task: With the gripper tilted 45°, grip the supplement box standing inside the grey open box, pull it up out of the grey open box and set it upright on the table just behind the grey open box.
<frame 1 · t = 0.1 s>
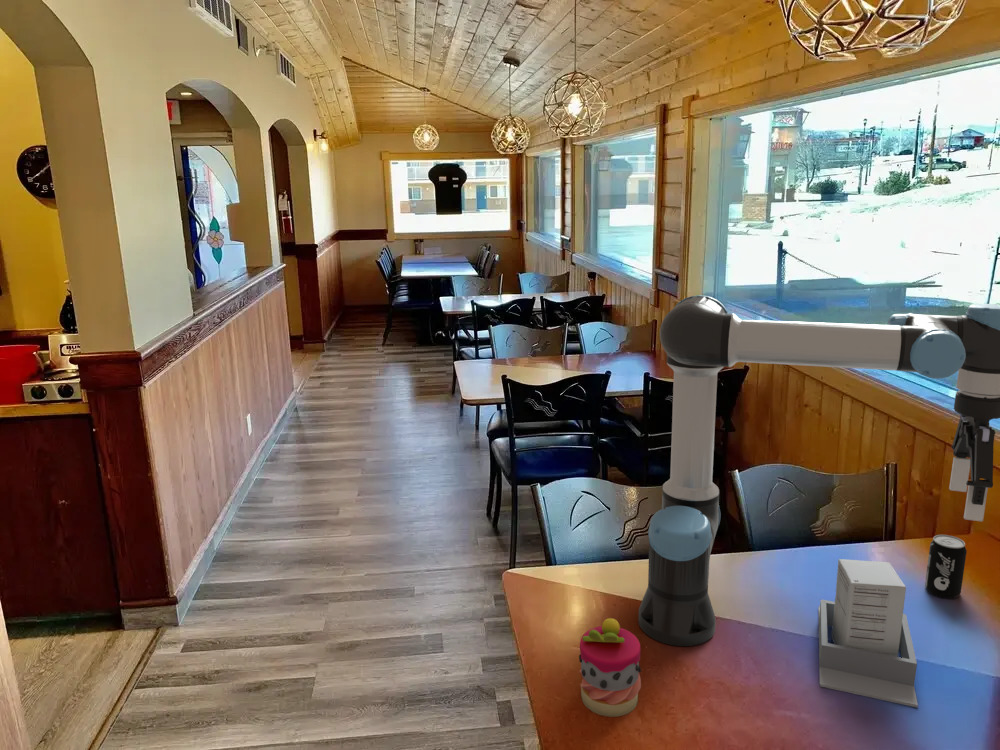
hand: (965, 504, 130), 28 cm above the table, tool pointing down, fingers open, 13 cm apart
grey open box: (862, 652, 133), on the table
cake: (609, 697, 124), on the table
beverage can: (942, 592, 152), on the table
supplement box: (862, 653, 133), resting in grey open box
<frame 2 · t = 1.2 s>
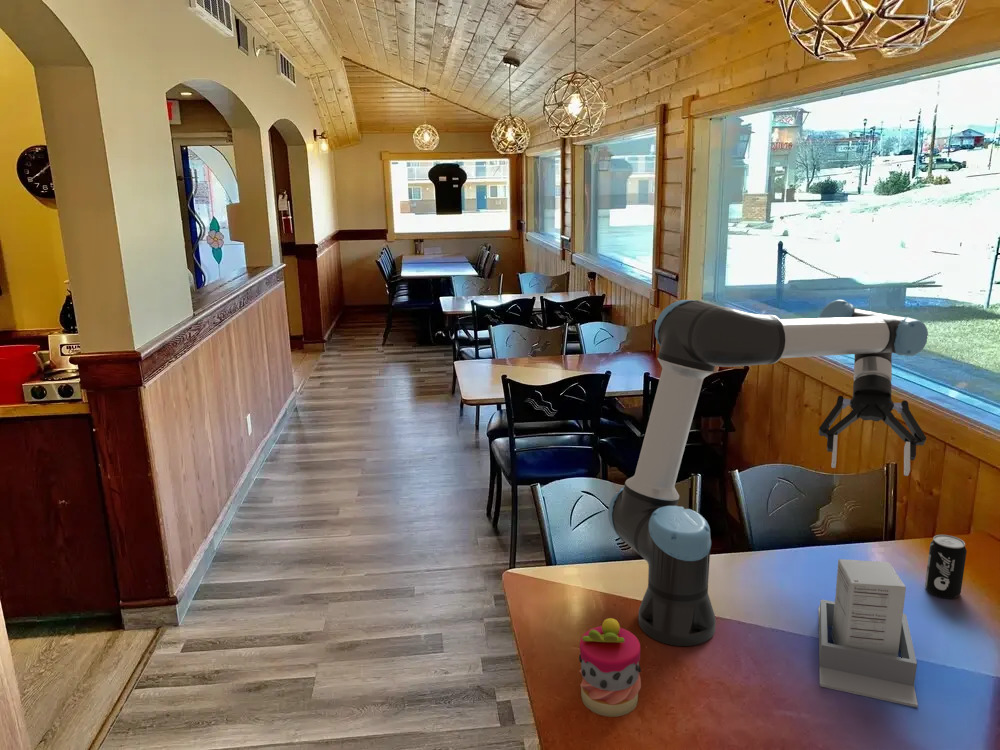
hand: (869, 469, 148), 28 cm above the table, tool tilted 45°, fingers open, 13 cm apart
nothing on the table moved.
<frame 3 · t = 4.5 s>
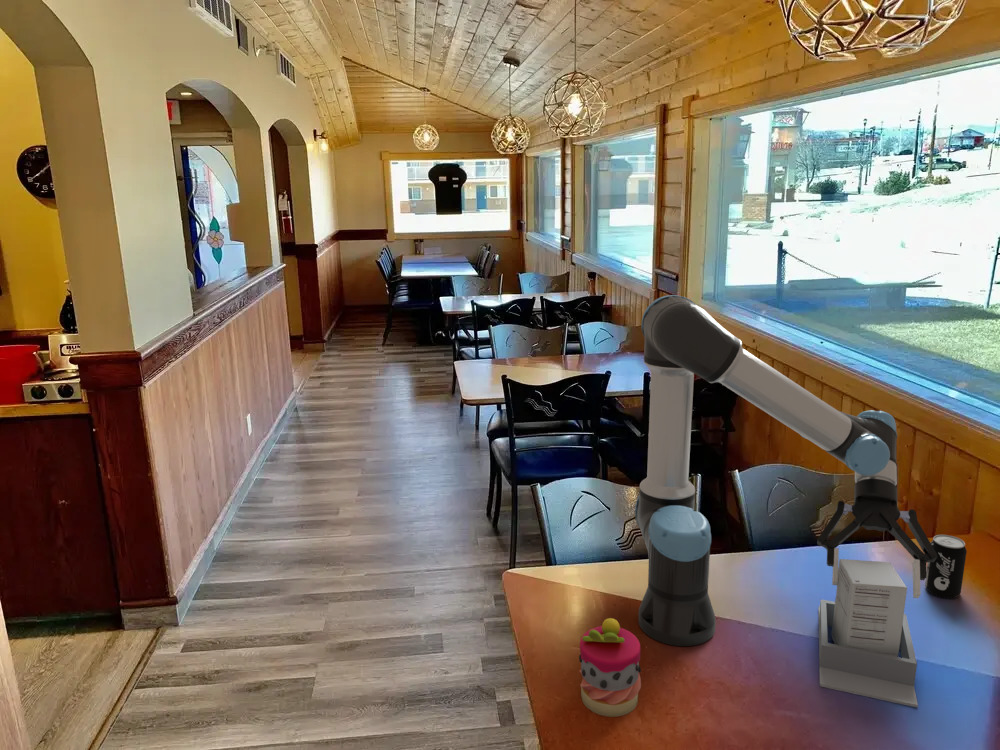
hand: (875, 589, 133), 12 cm above the table, tool tilted 45°, fingers open, 13 cm apart
supplement box: (862, 653, 133), resting in grey open box, touching gripper
everything else where it was.
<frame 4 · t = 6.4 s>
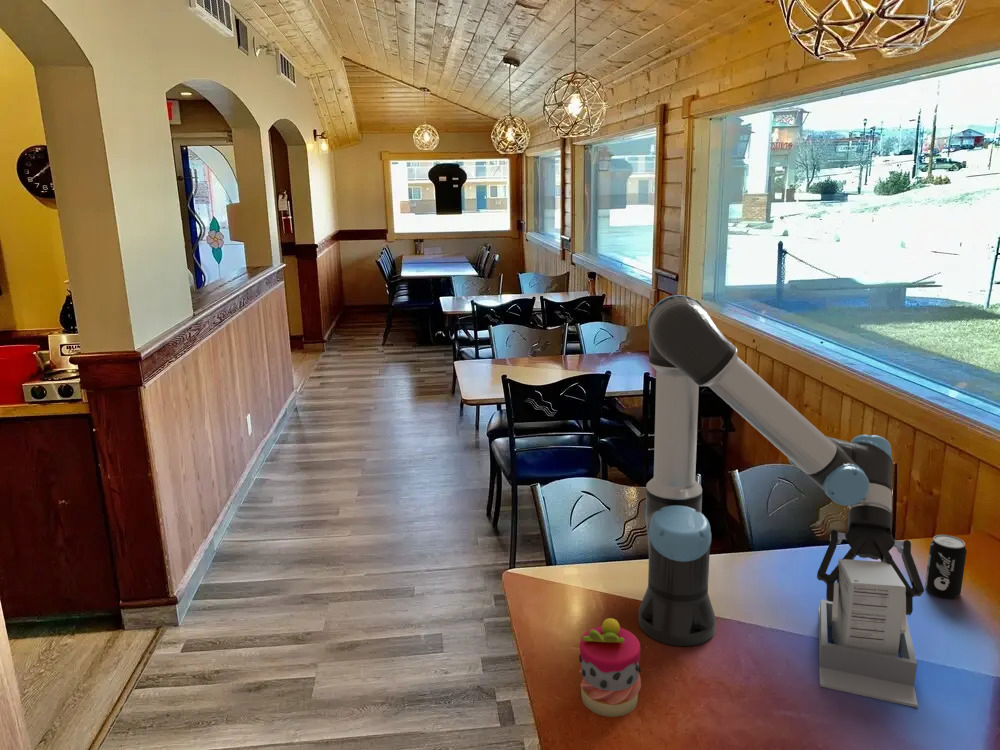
hand: (868, 625, 129), 8 cm above the table, tool tilted 45°, fingers closed on supplement box, 10 cm apart
supplement box: (862, 653, 133), resting in grey open box, touching gripper
everything else where it was.
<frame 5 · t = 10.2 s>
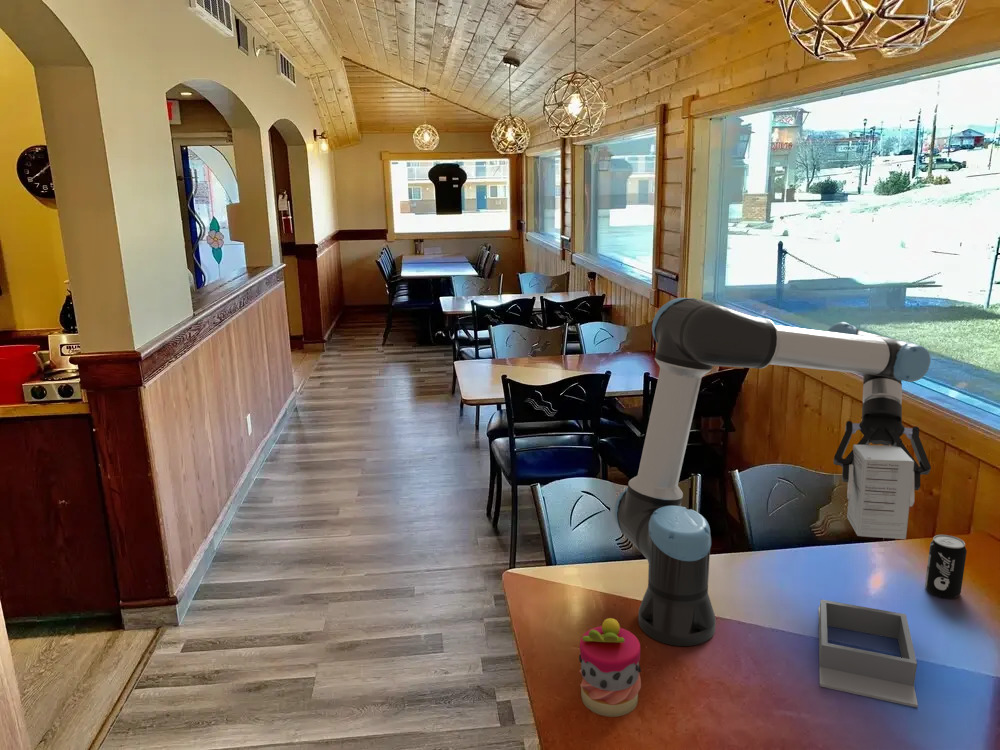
hand: (879, 500, 143), 23 cm above the table, tool tilted 45°, fingers closed on supplement box, 10 cm apart
supplement box: (875, 528, 148), point 16 cm above the table, touching gripper
everything else where it was.
when the fingers open (9 cm above the table, at t = 14.3 s): supplement box drops 1 cm, on the table.
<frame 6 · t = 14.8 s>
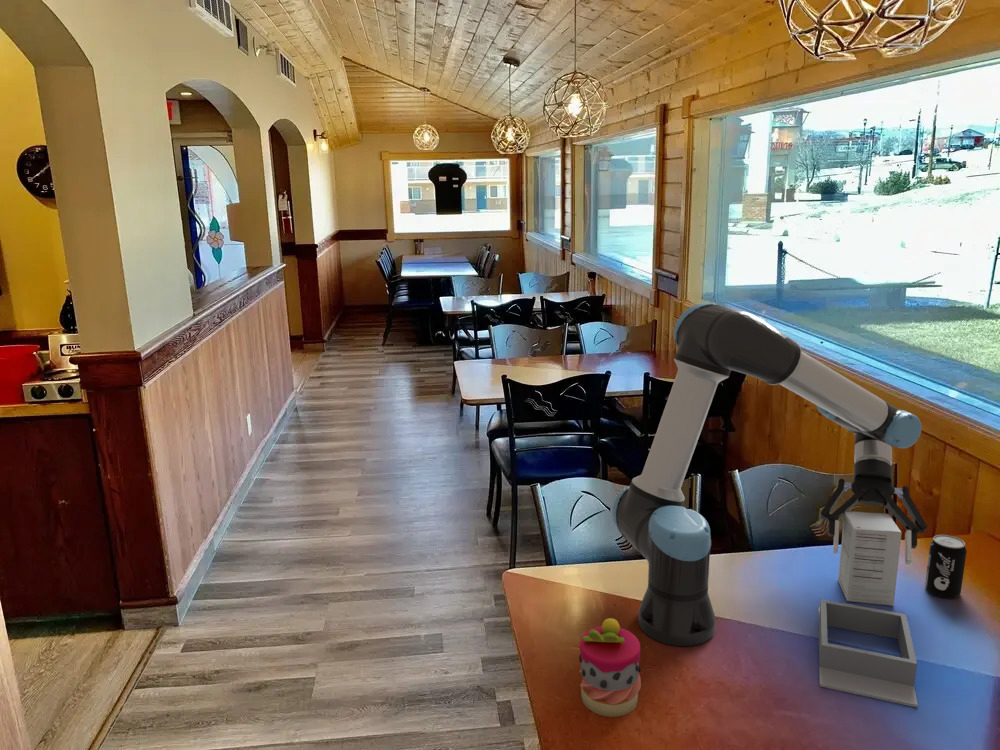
hand: (871, 556, 148), 10 cm above the table, tool tilted 45°, fingers open, 13 cm apart
supplement box: (864, 593, 153), on the table
everything else where it was.
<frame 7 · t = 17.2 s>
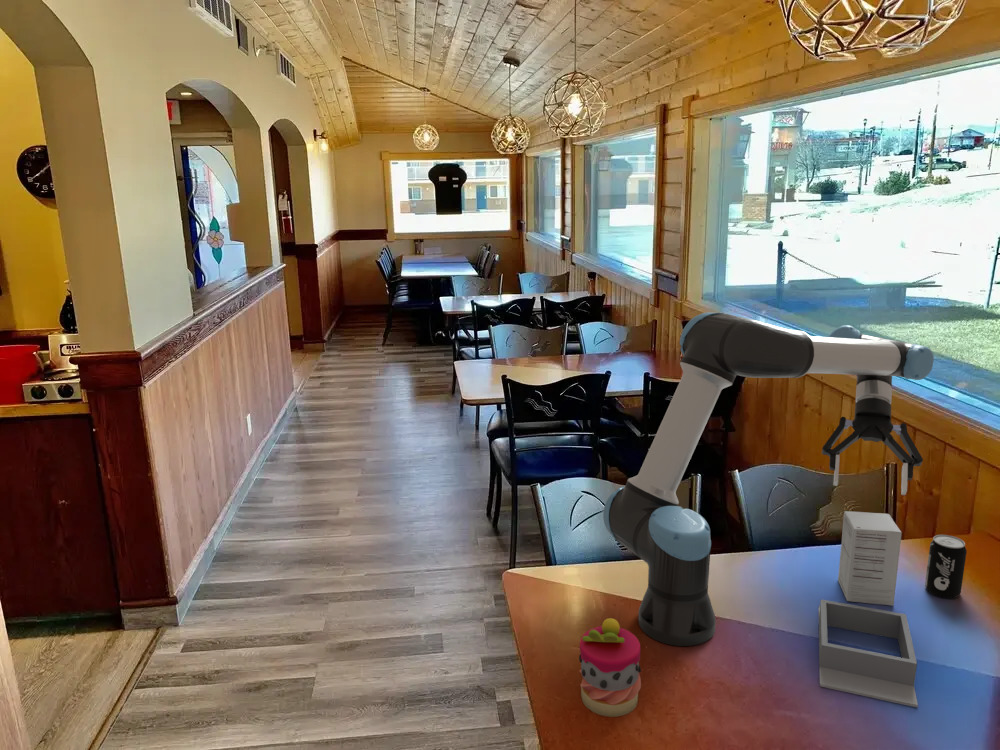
hand: (869, 488, 157), 20 cm above the table, tool tilted 45°, fingers open, 13 cm apart
nothing on the table moved.
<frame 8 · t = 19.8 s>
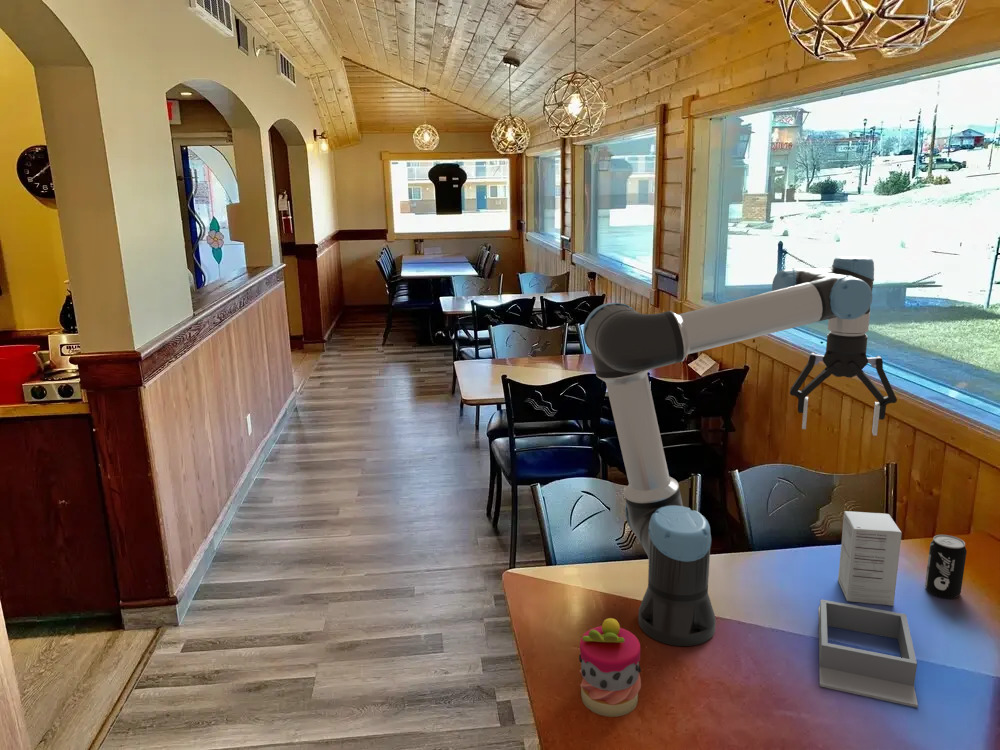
hand: (838, 430, 151), 35 cm above the table, tool pointing down, fingers open, 13 cm apart
nothing on the table moved.
at the end: supplement box inside the target area (0.3 cm from its centre), on the table; supplement box tilted 0°; the gripper is holding nothing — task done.
